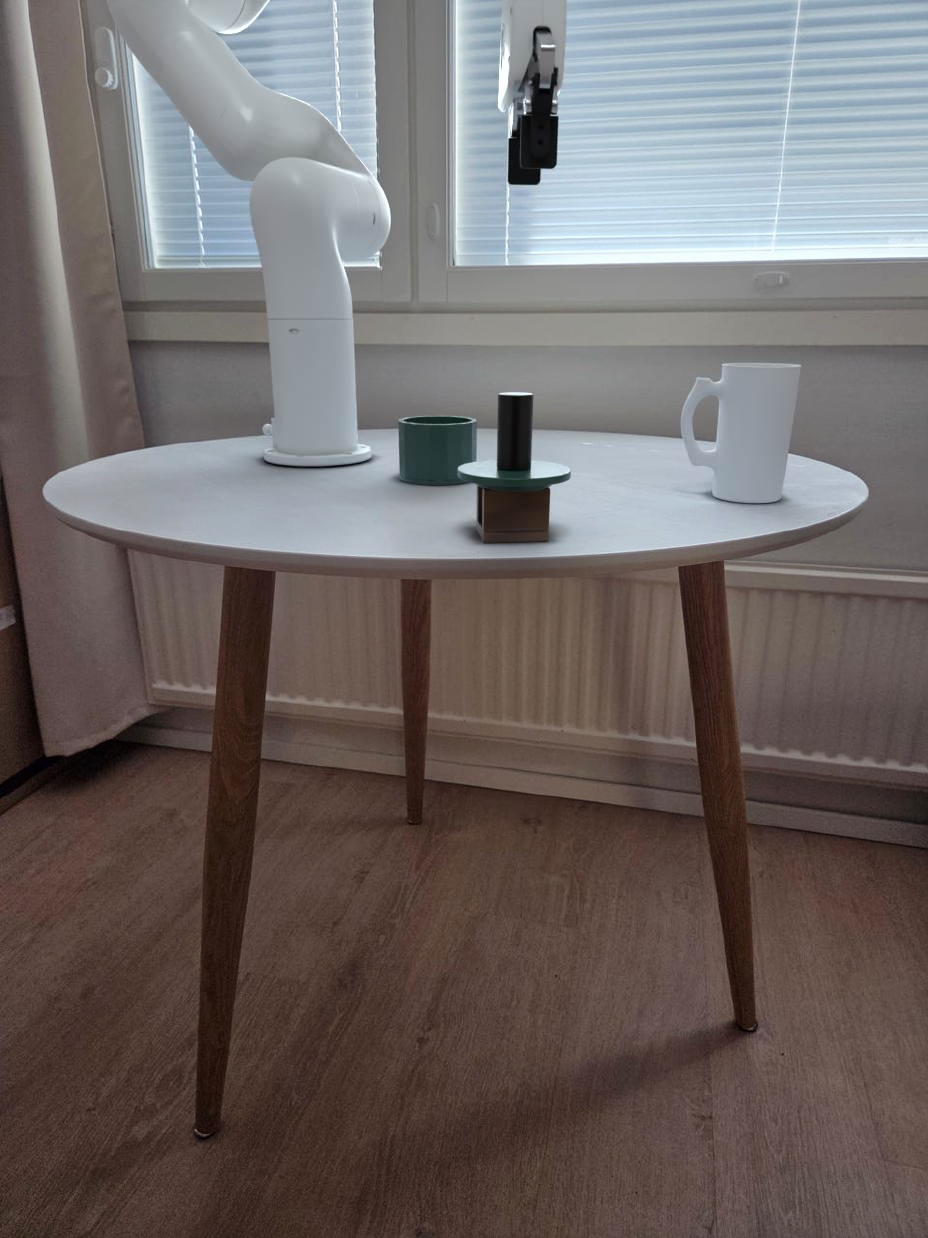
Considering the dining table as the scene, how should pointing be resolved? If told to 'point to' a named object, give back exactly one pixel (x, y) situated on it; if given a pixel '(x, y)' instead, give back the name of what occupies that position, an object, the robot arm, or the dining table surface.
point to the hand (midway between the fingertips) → (530, 176)
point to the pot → (435, 448)
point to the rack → (513, 515)
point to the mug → (746, 429)
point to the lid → (514, 452)
